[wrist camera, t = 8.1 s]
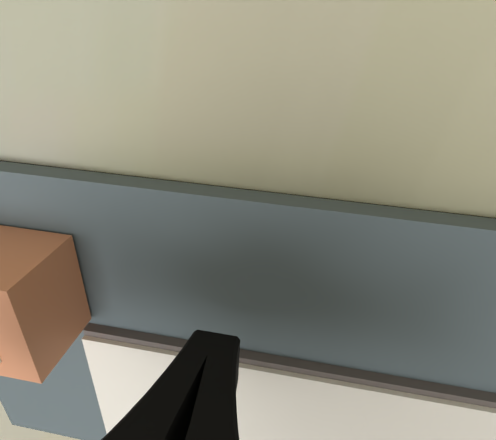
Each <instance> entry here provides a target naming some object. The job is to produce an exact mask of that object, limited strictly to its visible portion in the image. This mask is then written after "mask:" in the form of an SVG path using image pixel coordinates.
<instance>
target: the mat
mask: <svg viewBox="0 0 496 440" xmlns="http://www.w3.org/2000/svg"><path fill="white" fill-rule="evenodd" d="M0 225H3V226H10V227H17V228H24V229H31V230H38V231H45V232H53V233H60V234H67V235H72V237H73V242H74V246H75V250H76V254H77V259H78V263H79V267H80V271H81V276H82V280H83V284H84V288H85V293H86V297H87V301H88V305H89V310H90V314H91V318H92V319H91V320H90V321H89V323H93V324H98V325H104V326H110V327H116V328H121V329H127V330H133V331H139V332H145V333H150V334H156V335H162V336H168V337H174V338H179V339H185V340H189V338H190V337H191V335H192V334H193V332H194V331H196V330H203V331H209V332H215V333H221V334H227V335H233V336H237V337H238V338H239V339H240V349H243V350H249V351H255V352H260V353H266V354H272V355H278V356H283V357H289V358H295V359H301V360H307V361H312V362H318V363H324V364H330V365H336V366H341V367H347V368H353V369H359V370H364V371H370V372H376V373H382V374H388V375H393V376H399V377H405V378H411V379H417V380H422V381H428V382H434V383H440V384H445V385H451V386H457V387H463V388H469V389H474V390H480V391H486V392H492V393H496V219H495V218H486V217H478V216H469V215H461V214H452V213H443V212H435V211H426V210H418V209H409V208H400V207H392V206H383V205H375V204H366V203H357V202H349V201H340V200H332V199H323V198H315V197H306V196H297V195H289V194H280V193H272V192H263V191H254V190H246V189H237V188H229V187H220V186H211V185H203V184H194V183H186V182H177V181H168V180H160V179H151V178H143V177H134V176H125V175H117V174H108V173H100V172H91V171H83V170H74V169H65V168H57V167H48V166H40V165H31V164H22V163H14V162H5V161H0ZM86 326H87V325H86ZM83 336H84V332H83V330H82V332H81V333H80V334H79V336H78V337H77V338H76V340H75V341H74V342H73V344H72V345H71V346H70V347H69V349H68V350H67V351H66V353H65V354H64V355H63V357H62V358H61V359H60V361H59V362H58V363H57V365H56V366H55V367H54V368H53V370H52V371H51V372H50V374H49V375H48V376H47V378H46V379H45V380H44V382H43V383H42V384H40V383H35V382H30V381H25V380H20V379H15V378H10V377H5V376H0V401H1V403H2V405H3V407H4V409H5V411H6V413H7V415H8V417H9V419H10V421H11V423H12V425H17V426H21V427H26V428H31V429H35V430H40V431H44V432H49V433H54V434H58V435H63V436H67V437H72V438H77V439H81V440H101V439H102V438H103V437H104V436H105V435H106V434H107V433H106V429H105V425H104V422H103V418H102V414H101V410H100V407H99V403H98V399H97V395H96V391H95V388H94V384H93V380H92V376H91V373H90V369H89V365H88V361H87V358H86V354H85V350H84V346H83V342H82V338H83Z"/></svg>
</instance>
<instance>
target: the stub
mask: <svg viewBox="0 0 496 440" xmlns="http://www.w3.org/2000/svg"><path fill="white" fill-rule="evenodd" d="M91 319H92V318H91V314H90V310H89V305H88V301H87V297H86V293H85V288H84V284H83V280H82V276H81V271H80V267H79V263H78V259H77V254H76V250H75V246H74V242H73V237H72V235H67V234H60V233H53V232H45V231H38V230H31V229H24V228H17V227H10V226H3V225H0V376H5V377H10V378H15V379H20V380H25V381H30V382H35V383H40V384H42V383H43V382H44V380H45V379H46V378H47V376H48V375H49V374H50V372H51V371H52V370H53V368H54V367H55V366H56V365H57V363H58V362H59V361H60V359H61V358H62V357H63V355H64V354H65V353H66V351H67V350H68V349H69V347H70V346H71V345H72V344H73V342H74V341H75V340H76V338H77V337H78V336H79V334H80V333H81V332H82V330H83V329H84V328H85V327H86V325H87V324H88V323H89V321H90V320H91Z"/></svg>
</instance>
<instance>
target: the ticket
mask: <svg viewBox="0 0 496 440" xmlns="http://www.w3.org/2000/svg"><path fill="white" fill-rule="evenodd" d="M83 332H84V336H83V338H82V342H83V346H84V350H85V354H86V358H87V361H88V365H89V369H90V373H91V376H92V380H93V384H94V388H95V391H96V395H97V399H98V403H99V407H100V410H101V414H102V418H103V422H104V425H105V429H106V433H108V432H109V431H110V430H111V429H112V428H113V427H114V426H115V425H116V424H117V423H118V422H119V421H120V420H121V419H122V418H123V417H124V416H125V415H126V414H127V413H128V412H129V411H130V410H131V409H132V408H133V406H134V405H135V404H136V403H137V402H138V401H139V400H140V399H141V398H142V397H143V396H144V395H145V393H146V392H147V391H148V390H149V389H150V388H151V386H152V385H153V384H154V383H155V382H156V380H157V379H158V378H159V377H160V376H161V375H162V373H163V372H164V371H165V370H166V369H167V367H168V366H169V365H170V364H171V362H172V361H173V360H174V358H175V357H176V356H177V355H178V353H179V352H180V351H181V349H182V348H183V347H184V345H185V344H186V342H187V341H188V340H185V339H179V338H174V337H168V336H162V335H156V334H150V333H145V332H139V331H133V330H127V329H121V328H116V327H110V326H104V325H98V324H93V323H88V324H87V326H86V327H85V328H84V329H83ZM236 405H237V421H238V432H239V440H496V393H492V392H486V391H480V390H474V389H469V388H463V387H457V386H451V385H445V384H440V383H434V382H428V381H422V380H417V379H411V378H405V377H399V376H393V375H388V374H382V373H376V372H370V371H364V370H359V369H353V368H347V367H341V366H336V365H330V364H324V363H318V362H312V361H307V360H301V359H295V358H289V357H283V356H278V355H272V354H266V353H260V352H255V351H249V350H243V349H240V356H239V373H238V383H237V389H236Z"/></svg>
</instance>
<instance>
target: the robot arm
mask: <svg viewBox="0 0 496 440" xmlns="http://www.w3.org/2000/svg"><path fill="white" fill-rule="evenodd" d="M239 356H240V339H239V338H238V337H237V336H233V335H227V334H221V333H215V332H209V331H203V330H196V331H194V332H193V334H192V335H191V337H190V338H189V340H188V341H187V342H186V344H185V345H184V347H183V348H182V349H181V351H180V352H179V353H178V355H177V356H176V357H175V358H174V360H173V361H172V362H171V364H170V365H169V366H168V367H167V369H166V370H165V371H164V372H163V373H162V375H161V376H160V377H159V378H158V379H157V380H156V382H155V383H154V384H153V385H152V386H151V388H150V389H149V390H148V391H147V392H146V393H145V395H144V396H143V397H142V398H141V399H140V400H139V401H138V402H137V403H136V404H135V405H134V406H133V408H132V409H131V410H130V411H129V412H128V413H127V414H126V415H125V416H124V417H123V418H122V419H121V420H120V421H119V422H118V423H117V424H116V425H115V426H114V427H113V428H112V429H111V430H110V431H109V432H108V433H107V434H106V435H105V436H104V437H103V438H102V439H101V440H239V432H238V421H237V405H236V389H237V383H238V373H239Z"/></svg>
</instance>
